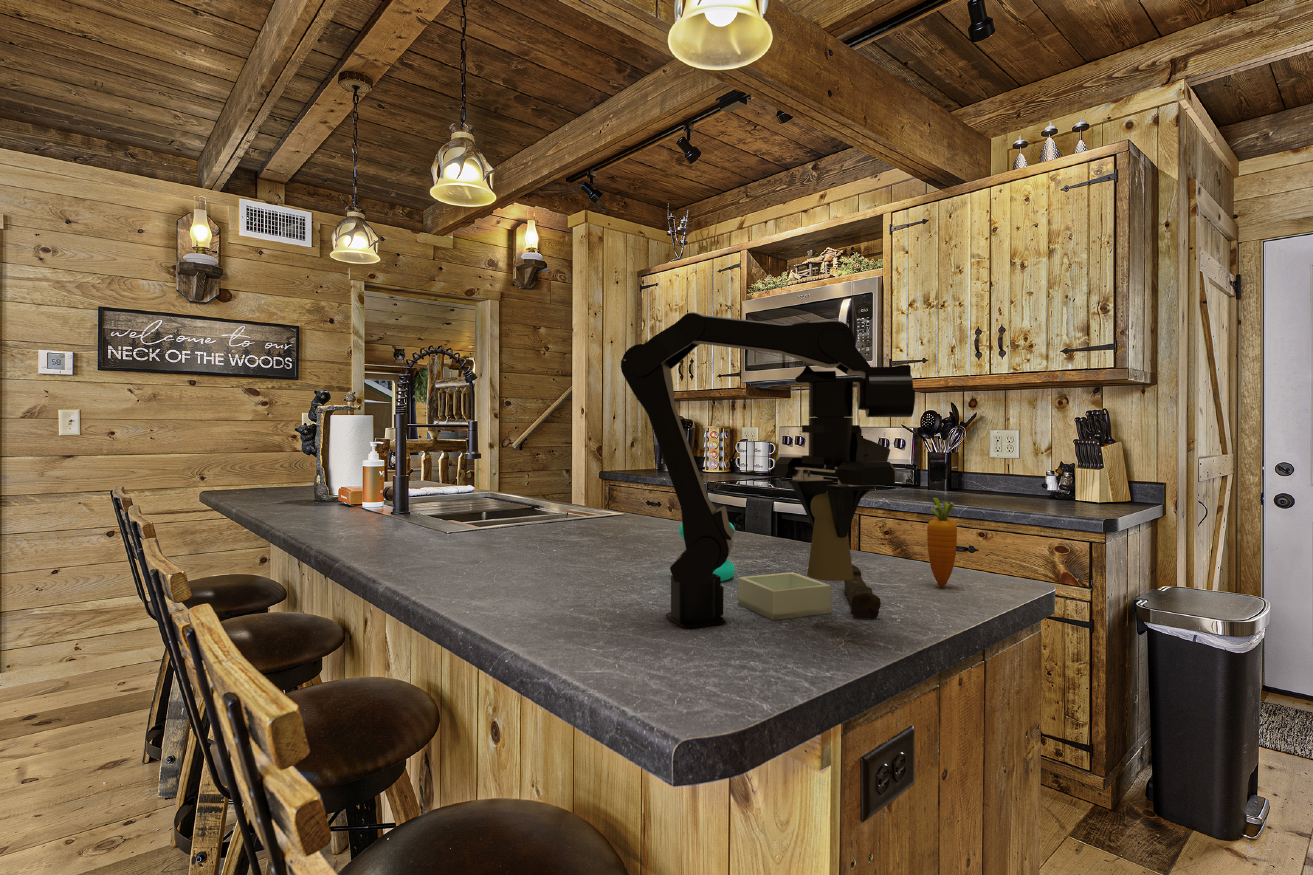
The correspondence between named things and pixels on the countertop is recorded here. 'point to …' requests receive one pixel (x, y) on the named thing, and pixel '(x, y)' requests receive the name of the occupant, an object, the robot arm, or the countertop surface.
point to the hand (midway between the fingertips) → (830, 534)
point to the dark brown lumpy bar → (861, 597)
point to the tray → (784, 595)
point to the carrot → (942, 543)
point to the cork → (828, 545)
